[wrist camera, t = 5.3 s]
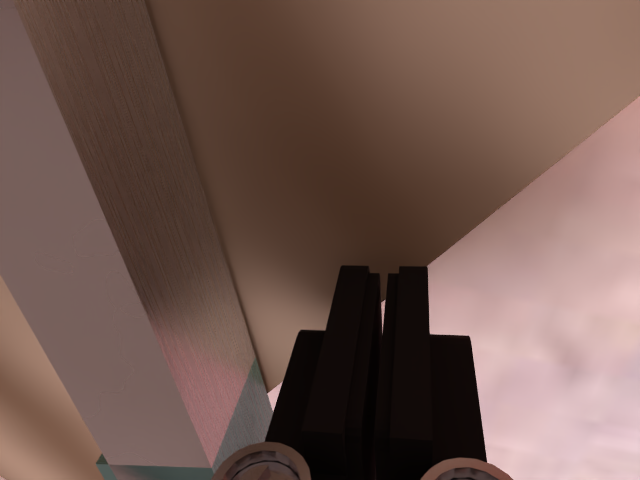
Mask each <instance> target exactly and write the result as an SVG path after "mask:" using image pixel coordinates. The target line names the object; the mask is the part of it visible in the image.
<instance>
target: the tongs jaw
mask: <svg viewBox="0 0 640 480" xmlns="http://www.w3.org/2000/svg"><path fill="white" fill-rule="evenodd" d="M0 275H1V277H2V278H3V280H4V282H5V284H6V285H7V287H8V289H9V291H10V292H11V294H12V296H13V298H14V299H15V301H16V303H17V305H18V306H19V308H20V310H21V312H22V313H23V315H24V317H25V319H26V320H27V322H28V324H29V326H30V327H31V329H32V331H33V333H34V335H35V336H36V338H37V340H38V342H39V343H40V345H41V347H42V349H43V350H44V352H45V354H46V356H47V357H48V359H49V361H50V363H51V364H52V366H53V368H54V370H55V371H56V373H57V375H58V377H59V378H60V380H61V382H62V384H63V385H64V387H65V389H66V391H67V392H68V394H69V396H70V398H71V399H72V401H73V403H74V405H75V406H76V408H77V410H78V412H79V413H80V415H81V417H82V419H83V420H84V422H85V424H86V426H87V427H88V429H89V431H90V433H91V434H92V436H93V438H94V440H95V441H96V443H97V445H98V447H99V448H100V450H101V452H102V454H101V456H100V457H99V459H98V460H97V462H96V466H97V468H98V469H99V471H100V473H101V474H102V476H103V478H104V480H211V479H212V477H213V475H214V473H215V472H216V471H217V469H218V468H219V467H220V465H221V464H222V462H223V461H224V460H226V459H227V458H228V457H229V456H230V455H232V454H233V453H234V452H235V451H237V450H239V449H242V448H244V447H246V446H248V445H250V444H256V443H261V442H264V441H265V438H266V435H267V432H268V428H269V425H270V422H271V419H272V415H273V411H272V408H271V405H270V401H269V398H268V395H267V392H266V389H265V385H264V382H263V379H262V376H261V372H260V369H259V366H258V363H257V360H256V356H255V353H254V350H253V347H252V344H251V340H250V337H249V334H248V331H247V328H246V324H245V321H244V318H243V315H242V312H241V308H240V305H239V302H238V299H237V296H236V292H235V289H234V286H233V283H232V280H231V276H230V273H229V270H228V267H227V264H226V260H225V257H224V254H223V251H222V247H221V244H220V241H219V238H218V235H217V231H216V228H215V225H214V222H213V219H212V215H211V212H210V209H209V206H208V203H207V199H206V196H205V193H204V190H203V187H202V183H201V180H200V177H199V174H198V171H197V167H196V164H195V161H194V158H193V155H192V151H191V148H190V145H189V142H188V139H187V135H186V132H185V129H184V126H183V122H182V119H181V116H180V113H179V110H178V106H177V103H176V100H175V97H174V94H173V90H172V87H171V84H170V81H169V78H168V74H167V71H166V68H165V65H164V62H163V58H162V55H161V52H160V49H159V46H158V42H157V39H156V36H155V33H154V30H153V26H152V23H151V20H150V17H149V14H148V10H147V7H146V4H145V1H144V0H0Z"/></svg>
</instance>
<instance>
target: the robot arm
mask: <svg viewBox="0 0 640 480" xmlns="http://www.w3.org/2000/svg"><path fill="white" fill-rule="evenodd" d="M211 480H513V479H512V478H511V477H510V476H509V475H508V474H506V473H505V472H503V471H502V470H500V469H499V468H497V467H496V466H494V465H492V464H489V463H487V458H486V451H485V443H484V436H483V428H482V421H481V413H480V406H479V398H478V391H477V383H476V376H475V368H474V361H473V353H472V346H471V340H470V337H469V336H459V335H433V334H430V332H429V299H428V267H427V266H399V273H388V279H387V291H386V302H385V313H384V324H383V335H382V313H381V287H380V273H370V269H369V266H353V265H342V266H341V267H340V271H339V275H338V279H337V283H336V288H335V292H334V296H333V300H332V304H331V309H330V313H329V317H328V321H327V325H326V330H300V331H299V332H298V335H297V337H296V341H295V344H294V347H293V350H292V354H291V357H290V360H289V363H288V367H287V370H286V373H285V376H284V380H283V383H282V386H281V389H280V393H279V396H278V399H277V402H276V406H275V409H274V412H273V415H272V419H271V422H270V425H269V428H268V432H267V435H266V438H265V441H264V442H261V443H256V444H250V445H248V446H246V447H244V448H242V449H239V450H237V451H235V452H234V453H233V454H232V455H230V456H229V457H228V458H227V459H226V460H224V461H223V462H222V464H221V465H220V467H219V468H218V469H217V471H216V472H215V473H214V475H213V477H212V479H211Z"/></svg>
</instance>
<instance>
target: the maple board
mask: <svg viewBox="0 0 640 480" xmlns="http://www.w3.org/2000/svg"><path fill="white" fill-rule="evenodd" d="M144 1H145V4H146V7H147V10H148V14H149V17H150V20H151V23H152V26H153V30H154V33H155V36H156V39H157V42H158V46H159V49H160V52H161V55H162V58H163V62H164V65H165V68H166V71H167V74H168V78H169V81H170V84H171V87H172V90H173V94H174V97H175V100H176V103H177V106H178V110H179V113H180V116H181V119H182V122H183V126H184V129H185V132H186V135H187V139H188V142H189V145H190V148H191V151H192V155H193V158H194V161H195V164H196V167H197V171H198V174H199V177H200V180H201V183H202V187H203V190H204V193H205V196H206V199H207V203H208V206H209V209H210V212H211V215H212V219H213V222H214V225H215V228H216V231H217V235H218V238H219V241H220V244H221V247H222V251H223V254H224V257H225V260H226V264H227V267H228V270H229V273H230V276H231V280H232V283H233V286H234V289H235V292H236V296H237V299H238V302H239V305H240V308H241V312H242V315H243V318H244V321H245V324H246V328H247V331H248V334H249V337H250V340H251V344H252V347H253V350H254V353H255V356H256V360H257V363H258V366H259V369H260V372H261V376H262V379H263V382H264V385H265V389H266V392H267V393H268V392H270V391H271V390H272V389H273V388H275V387H276V386H277V385H278V384H280V383H281V382H282V381H283V380H284V376H285V373H286V370H287V367H288V363H289V360H290V357H291V354H292V350H293V347H294V344H295V341H296V337H297V335H298V332H299V331H300V330H326V325H327V321H328V317H329V313H330V309H331V304H332V300H333V296H334V292H335V288H336V283H337V279H338V275H339V271H340V267H341V266H342V265H353V266H369V269H370V273H380V287H381V302H382V301H384V300H385V299H386V291H387V279H388V273H399V266H427V265H429V264H430V263H431V262H432V261H434V260H435V259H436V258H437V257H439V256H440V255H441V254H442V253H444V252H445V251H446V250H447V249H449V248H450V247H451V246H452V245H454V244H455V243H456V242H457V241H459V240H460V239H461V238H462V237H464V236H465V235H466V234H467V233H469V232H470V231H471V230H472V229H474V228H475V227H476V226H477V225H479V224H480V223H481V222H483V221H484V220H485V219H486V218H488V217H489V216H490V215H491V214H493V213H494V212H495V211H496V210H498V209H499V208H500V207H501V206H503V205H504V204H505V203H506V202H508V201H509V200H510V199H511V198H513V197H514V196H515V195H516V194H518V193H519V192H520V191H521V190H523V189H524V188H525V187H526V186H528V185H529V184H530V183H531V182H533V181H534V180H535V179H536V178H538V177H539V176H540V175H541V174H543V173H544V172H545V171H546V170H548V169H549V168H550V167H551V166H553V165H554V164H555V163H556V162H558V161H559V160H560V159H561V158H563V157H564V156H565V155H566V154H568V153H569V152H570V151H571V150H573V149H574V148H575V147H576V146H578V145H579V144H580V143H581V142H583V141H584V140H585V139H586V138H588V137H589V136H590V135H591V134H593V133H594V132H595V131H596V130H598V129H599V128H600V127H601V126H603V125H604V124H605V123H606V122H608V121H609V120H610V119H611V118H613V117H614V116H615V115H616V114H618V113H619V112H620V111H621V110H623V109H624V108H625V107H626V106H628V105H629V104H630V103H631V102H633V101H634V100H635V99H636V98H638V97H639V96H640V0H144ZM101 454H102V452H101V450H100V448H99V447H98V445H97V443H96V441H95V440H94V438H93V436H92V434H91V433H90V431H89V429H88V427H87V426H86V424H85V422H84V420H83V419H82V417H81V415H80V413H79V412H78V410H77V408H76V406H75V405H74V403H73V401H72V399H71V398H70V396H69V394H68V392H67V391H66V389H65V387H64V385H63V384H62V382H61V380H60V378H59V377H58V375H57V373H56V371H55V370H54V368H53V366H52V364H51V363H50V361H49V359H48V357H47V356H46V354H45V352H44V350H43V349H42V347H41V345H40V343H39V342H38V340H37V338H36V336H35V335H34V333H33V331H32V329H31V327H30V326H29V324H28V322H27V320H26V319H25V317H24V315H23V313H22V312H21V310H20V308H19V306H18V305H17V303H16V301H15V299H14V298H13V296H12V294H11V292H10V291H9V289H8V287H7V285H6V284H5V282H4V280H3V278H2V277H1V275H0V476H1V477H3V478H5V479H6V480H104V478H103V476H102V474H101V473H100V471H99V469H98V468H97V466H96V462H97V460H98V459H99V457H100V456H101Z"/></svg>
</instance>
